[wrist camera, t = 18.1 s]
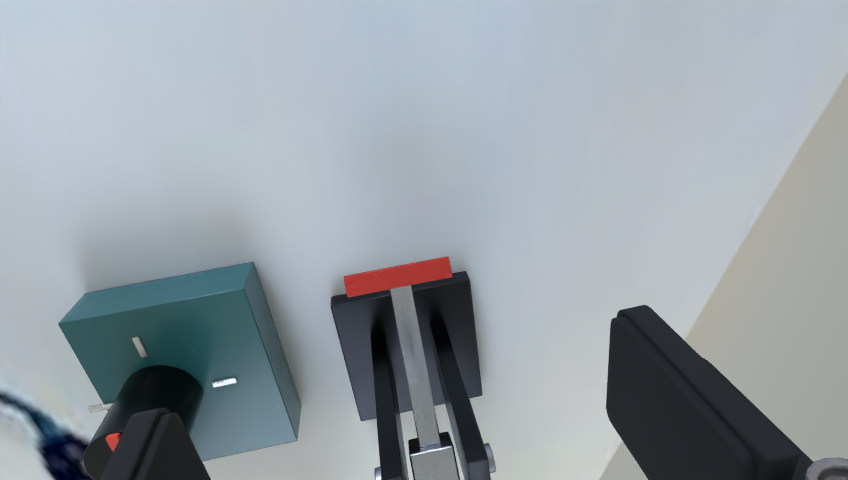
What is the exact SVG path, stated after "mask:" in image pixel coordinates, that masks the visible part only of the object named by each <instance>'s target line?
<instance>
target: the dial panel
mask: <svg viewBox="0 0 848 480" xmlns="http://www.w3.org/2000/svg"><path fill="white" fill-rule="evenodd" d="M58 325H59V326H60V328H61V330H62V332H63V333H64V335H65V337H66V339H67V340H68V342H69V344H70V346H71V347H72V349H73V351H74V353H75V354H76V356H77V358H78V360H79V361H80V363H81V365H82V367H83V368H84V370H85V372H86V374H87V375H88V377H89V379H90V381H91V382H92V384H93V386H94V388H95V389H96V391H97V393H98V395H99V396H100V398H101V400H102V402H103V403H104V404H99V405H94V406H89V407H88V409H89V411H90V413H91V412H96V411H101V410H106V409H107V410H108V411H109V409H110V408H111V406H112V404H113V402H114V401H115V399H116V397H117V396H118V394H119V392H120V390H121V389H122V387H123V385H124V384H125V382H126V380H127V379H128V378H129V377H130V376H131V375H132V374H133V373H135V372H136V371H138V370H140V369H142V368H145V367H149V366H155V365H166V366H172V367H176V368H179V369H181V370H184V371H186V372H187V373H189V374H190V375H192V376H193V377H194V378H195V379H196V380H197V382H198V383H199V384H200V386H201V389H202V393H203V400H202V404H201V406H200V409H199V412H198V415H197V418H196V420H195V423H194V426H193V429H192V431H191V434H190V438H191V440H192V442H193V444H194V446H195V448H196V451H197V453H198V455H199V457H200V459H201V461H205V460H210V459H214V458H219V457H224V456H228V455H233V454H238V453H242V452H247V451H252V450H256V449H261V448H266V447H270V446H275V445H280V444H284V443H289V442H294V441H297V439H298V430H299V421H300V412H301V404H300V401H299V398H298V395H297V392H296V389H295V386H294V383H293V380H292V377H291V374H290V371H289V368H288V365H287V362H286V359H285V356H284V353H283V350H282V347H281V344H280V341H279V338H278V335H277V332H276V329H275V326H274V323H273V320H272V317H271V314H270V311H269V308H268V305H267V302H266V299H265V296H264V293H263V290H262V287H261V284H260V281H259V278H258V275H257V272H256V269H255V266H254V263H253V262H250V263H245V264H239V265H234V266H229V267H223V268H218V269H213V270H207V271H202V272H197V273H191V274H186V275H180V276H175V277H170V278H164V279H159V280H154V281H148V282H143V283H138V284H132V285H127V286H122V287H116V288H111V289H105V290H100V291H95V292H89V293H85V294H84V296H83V297H82V298H81V299H80V300H79V301H78V302H77V303H76V304H75V305H74V307H73V308H72V309H71V310H70V311H69V312H68V313H67V314H66V315H65V316H64V318H63V319H62V320H61V321H60V322H59V323H58Z"/></svg>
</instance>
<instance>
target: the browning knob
mask: <svg viewBox="0 0 848 480" xmlns="http://www.w3.org/2000/svg"><path fill="white" fill-rule="evenodd" d="M202 400H203V393H202V389H201V386H200V384H199V383H198V382H197V380H196V379H195V378H194V377H193V376H192V375H190V374H189V373H187V372H186V371H184V370H181V369H179V368H176V367H172V366H166V365H155V366H149V367H145V368H142V369H140V370H138V371H136V372H135V373H133V374H132V375H131V376H130V377H129V378H128V379H127V380H126V382H125V384H124V385H123V387H122V389H121V390H120V392H119V394H118V396H117V397H116V399H115V401H114V402H113V404H112V406H111V408H110V409H109V411H108V413H107V414H106V416H105V418H104V420H103V421H102V423H101V425H100V426H99V428H98V430H97V432H96V433H95V435H94V437H93V438H92V440H91V442H90V443H89V445H88V447H87V449H86V451H85V453H84V466H85V469H86V471H87V473H88V474H89V475H90V477H91V478H92V479H93V480H100V478H101V476H102V474H103V472H104V470H105V468H106V466H107V464H108V462H109V460H110V458H111V456H112V454H113V452H114V449H115V447H116V445H117V443H118V441H119V439H120V437H121V435H122V433H123V431H124V429H125V427H126V425H127V423H128V421H129V419H130V418H131V416H132V415H133V414H135V413H139V412H144V411H149V410H153V409H158V408H167V409H168V410H169V411H170V413H177V414H178V415H179V416H180V418H181V420H182V422H183V424H184V426H185V428H186V430H187V432H188V434H189V436H190V434H191V431H192V429H193V426H194V423H195V420H196V418H197V415H198V412H199V409H200V406H201V404H202Z"/></svg>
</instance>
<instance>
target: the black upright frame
mask: <svg viewBox="0 0 848 480" xmlns="http://www.w3.org/2000/svg"><path fill="white" fill-rule="evenodd" d="M411 288H412V293H413V298H414V304H415V309H416V314H417V319H418V325H419V330H420V335H421V340H422V346H423V351H424V356H425V361H426V367H427V372H428V377H429V382H430V388H431V393H432V398H433V403H434V406H436V405H440V404H446V408H447V412H448V416H449V420H450V424H451V428H452V432H453V436H454V440H455V444H456V448H457V452H458V455H459V459H460V463H461V467H462V471H463V475H464V479H465V480H491V478H490V473H494V472H495V471H496V467H495V461H494V457H493V453H492V450H491V447H490V445H489V443H486V444H484V443H483V440H482V437H481V434H480V431H479V428H478V425H477V421H476V418H475V415H474V412H473V409H472V406H471V403H470V400H469V398H473V397H478V396H482V386H481V377H480V368H479V359H478V350H477V341H476V331H475V322H474V313H473V304H472V295H471V286H470V279H469V277H468V275H467V273H466V271H463V272H458V273H453V274H452V277H451V278H445V279H440V280H435V281H430V282H425V283H420V284H415V285H411ZM331 310H332V314H333V318H334V321H335V325H336V329H337V333H338V336H339V340H340V344H341V348H342V352H343V355H344V359H345V363H346V367H347V371H348V374H349V378H350V382H351V386H352V389H353V393H354V397H355V401H356V405H357V408H358V412H359V416H360V420H361V421H365V420H370V419H375V418H377V429H378V442H379V454H380V467H377V468H375V480H409V477H408V470H407V463H406V455H405V448H404V441H403V433H402V426H401V419H400V413H403V412H408V411H412V404H411V399H410V393H409V388H408V383H407V377H406V372H405V367H404V361H403V356H402V351H401V345H400V340H399V335H398V329H397V324H396V319H395V313H394V308H393V303H392V297H391V292H390V289H389V290H384V291H379V292H373V293H368V294H363V295H358V296H353V297H347V294H345V295H339V296H334V297H331Z"/></svg>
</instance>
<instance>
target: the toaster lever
mask: <svg viewBox="0 0 848 480" xmlns="http://www.w3.org/2000/svg"><path fill="white" fill-rule="evenodd" d="M451 277H452V271H451V266H450V261H449V257H448V256H447V257H442V258H437V259H432V260H427V261H421V262H416V263H411V264H406V265H400V266H395V267H390V268H385V269H379V270H374V271H369V272H364V273H359V274H353V275H348V276H344V281H345V286H346V292H347V297H353V296H358V295H363V294H368V293H373V292H379V291H384V290H389V289H390V292H391V297H392V303H393V308H394V313H395V319H396V324H397V329H398V335H399V340H400V345H401V351H402V356H403V361H404V367H405V372H406V377H407V383H408V388H409V393H410V399H411V404H412V410H413V415H414V420H415V426H416V431H417V436H418V438H415V439H411V440H409V442H408V443H409V456H410V462H411V467H412V472H413V478H414V480H460V478H459V472H458V467H457V462H456V457H455V452H454V446H453V444H452V441H451V438H450V435H449V433H448V432H443V433H439V430H438V424H437V419H436V414H435V409H434V403H433V398H432V393H431V388H430V382H429V377H428V372H427V367H426V361H425V356H424V351H423V346H422V340H421V335H420V330H419V325H418V319H417V314H416V309H415V304H414V298H413V293H412V288H411V285H415V284H420V283H425V282H430V281H435V280H440V279H445V278H451Z"/></svg>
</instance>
